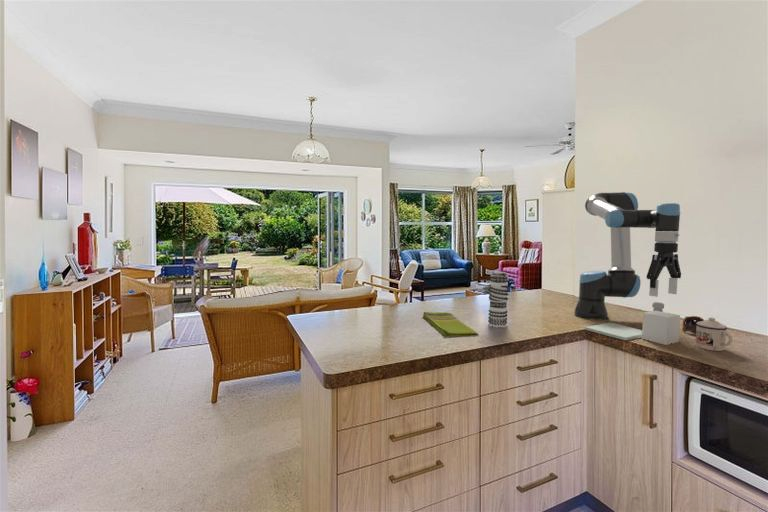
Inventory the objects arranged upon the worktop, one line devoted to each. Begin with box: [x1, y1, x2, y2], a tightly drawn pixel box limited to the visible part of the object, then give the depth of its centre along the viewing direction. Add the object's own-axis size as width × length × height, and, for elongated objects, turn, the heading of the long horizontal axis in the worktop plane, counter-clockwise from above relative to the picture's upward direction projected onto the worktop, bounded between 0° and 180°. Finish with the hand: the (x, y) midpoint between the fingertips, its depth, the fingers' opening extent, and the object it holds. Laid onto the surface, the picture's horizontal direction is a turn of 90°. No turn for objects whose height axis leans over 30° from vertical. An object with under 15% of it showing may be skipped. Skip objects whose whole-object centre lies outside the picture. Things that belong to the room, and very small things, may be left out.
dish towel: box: [422, 311, 479, 338], centre depth 178 cm, size 15×36×3 cm, turn 9°
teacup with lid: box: [695, 317, 734, 352], centre depth 145 cm, size 12×9×12 cm
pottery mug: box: [681, 315, 704, 333], centre depth 168 cm, size 12×10×8 cm
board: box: [584, 322, 642, 341], centre depth 167 cm, size 18×18×1 cm
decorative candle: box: [487, 271, 510, 328], centre depth 177 cm, size 9×9×25 cm
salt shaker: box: [652, 301, 665, 312], centre depth 168 cm, size 6×6×13 cm
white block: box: [641, 310, 681, 346], centre depth 155 cm, size 9×9×11 cm
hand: (663, 295), depth 154 cm, fingers open, 13 cm apart
